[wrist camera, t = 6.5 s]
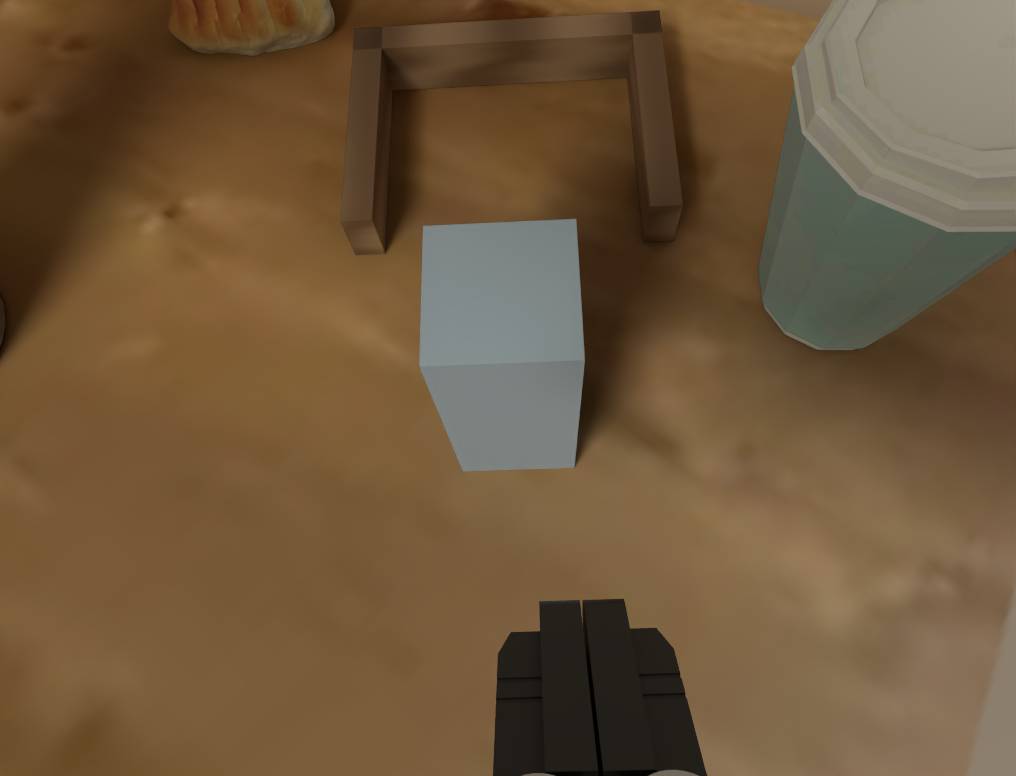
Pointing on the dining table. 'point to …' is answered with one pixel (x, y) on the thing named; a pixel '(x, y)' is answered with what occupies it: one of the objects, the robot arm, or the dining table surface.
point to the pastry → (250, 24)
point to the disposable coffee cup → (891, 166)
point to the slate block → (504, 341)
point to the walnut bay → (508, 60)
